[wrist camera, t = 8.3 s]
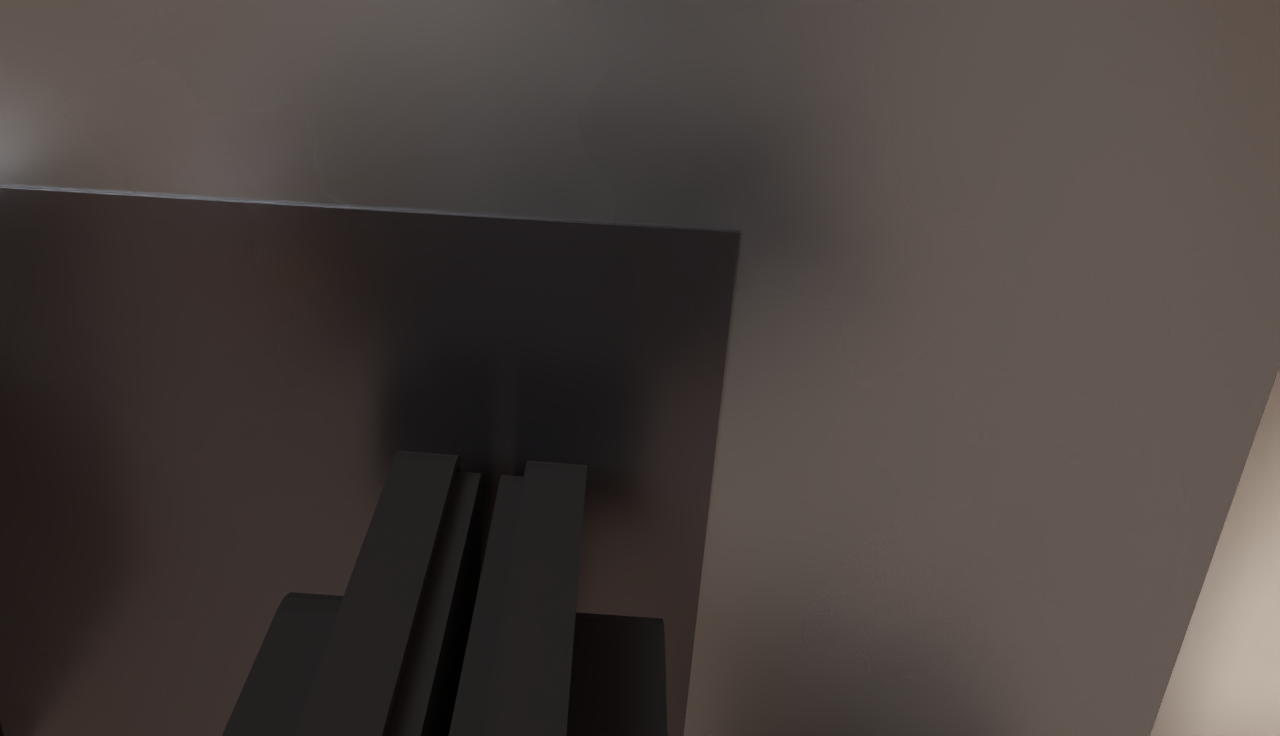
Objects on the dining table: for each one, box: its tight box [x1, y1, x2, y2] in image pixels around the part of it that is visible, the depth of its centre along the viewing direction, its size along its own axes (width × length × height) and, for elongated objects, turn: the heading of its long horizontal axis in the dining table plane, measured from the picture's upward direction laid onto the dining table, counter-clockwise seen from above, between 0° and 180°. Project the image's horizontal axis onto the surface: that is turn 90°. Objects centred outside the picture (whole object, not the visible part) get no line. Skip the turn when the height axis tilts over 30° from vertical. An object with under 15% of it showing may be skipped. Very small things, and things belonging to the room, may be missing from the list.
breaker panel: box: [0, 0, 1280, 736], centre depth 13 cm, size 14×18×3 cm
